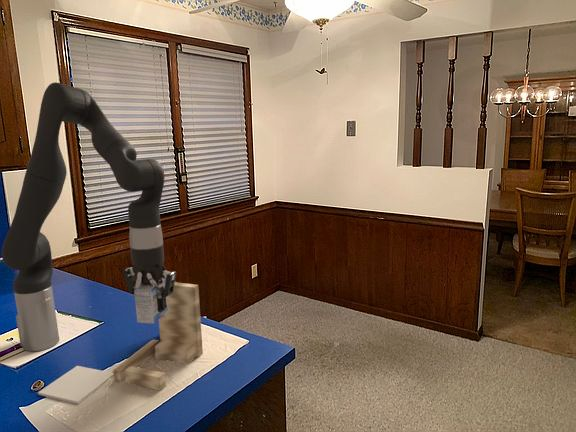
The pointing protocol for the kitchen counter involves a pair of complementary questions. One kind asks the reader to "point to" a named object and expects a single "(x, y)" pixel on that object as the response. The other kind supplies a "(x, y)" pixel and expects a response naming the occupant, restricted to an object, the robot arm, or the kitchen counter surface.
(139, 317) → the medicine box
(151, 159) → the robot arm
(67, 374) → the grey mat
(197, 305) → the slotted stand
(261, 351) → the kitchen counter surface
